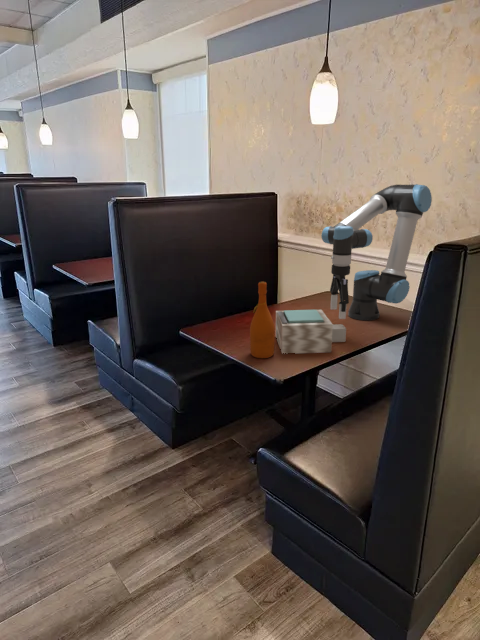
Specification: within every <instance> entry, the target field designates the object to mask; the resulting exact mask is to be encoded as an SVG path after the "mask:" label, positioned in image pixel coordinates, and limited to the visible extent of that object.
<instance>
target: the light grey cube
mask: <svg viewBox="0 0 480 640" xmlns="http://www.w3.org/2000/svg"><path fill="white" fill-rule="evenodd" d="M332 324H333V323H332ZM346 337H347V327H345V325H343V323H340V324H338V323H337V324H333V329H332V343H344V342H346Z"/></svg>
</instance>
